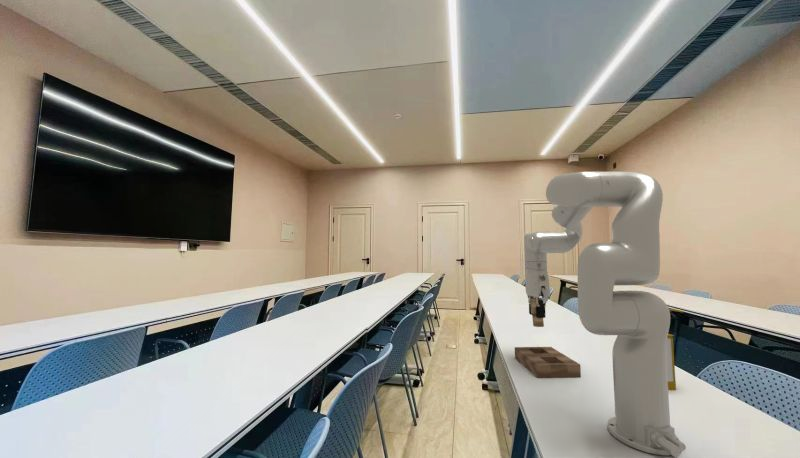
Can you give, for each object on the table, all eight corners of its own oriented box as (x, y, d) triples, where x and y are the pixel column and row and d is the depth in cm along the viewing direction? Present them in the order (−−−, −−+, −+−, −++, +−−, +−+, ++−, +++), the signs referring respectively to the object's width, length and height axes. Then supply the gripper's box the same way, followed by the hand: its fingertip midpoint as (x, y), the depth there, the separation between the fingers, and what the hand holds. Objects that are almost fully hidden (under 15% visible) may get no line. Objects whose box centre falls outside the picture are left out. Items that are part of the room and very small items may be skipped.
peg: (547, 326, 109) (544, 298, 111) (535, 327, 109) (533, 298, 111) (541, 325, 114) (538, 297, 115) (530, 325, 113) (527, 298, 115)
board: (580, 377, 98) (580, 364, 98) (537, 378, 97) (537, 365, 97) (551, 357, 116) (550, 346, 116) (514, 358, 115) (514, 347, 115)
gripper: (558, 267, 105) (559, 321, 104) (534, 264, 122) (536, 310, 121) (536, 267, 105) (538, 321, 104) (516, 264, 122) (517, 311, 121)
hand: (537, 315), depth 112 cm, fingers closed on peg, 4 cm apart
